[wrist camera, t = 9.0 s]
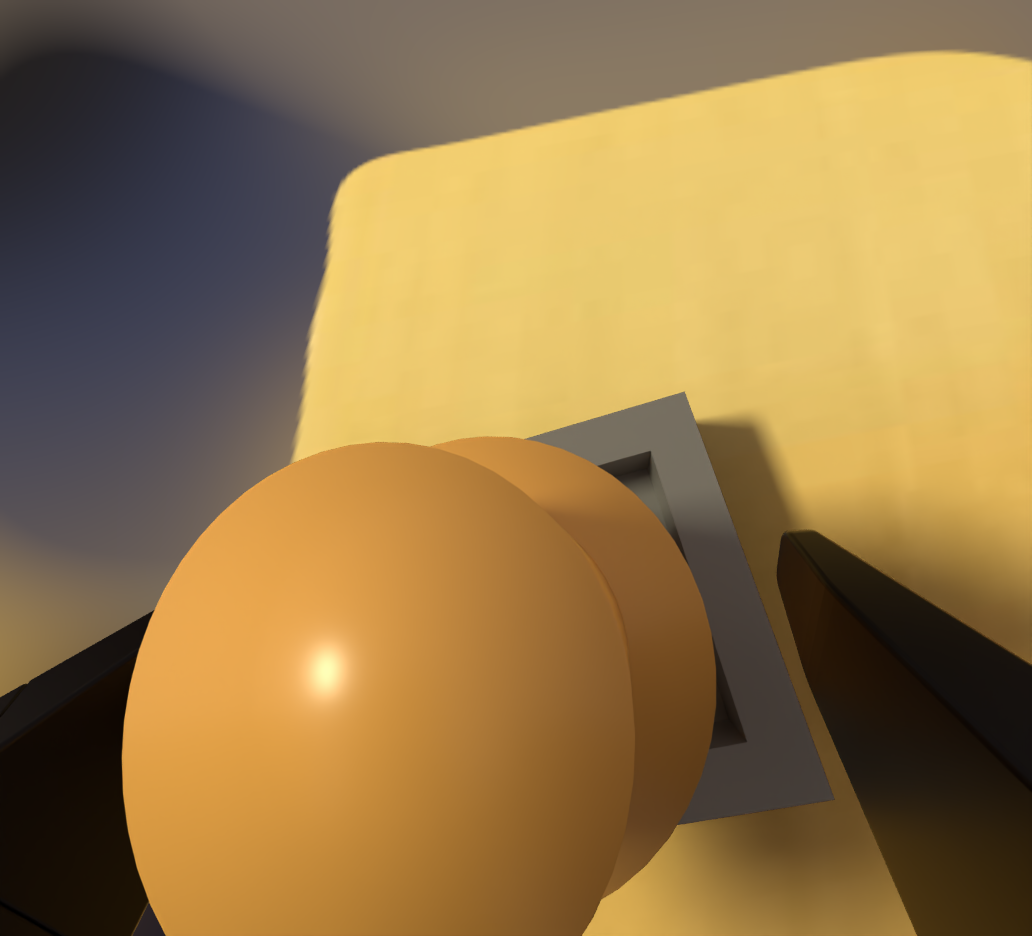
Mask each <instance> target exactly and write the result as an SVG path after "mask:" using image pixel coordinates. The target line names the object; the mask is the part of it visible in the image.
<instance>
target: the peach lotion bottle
mask: <svg viewBox="0 0 1032 936" xmlns="http://www.w3.org/2000/svg"><path fill="white" fill-rule="evenodd" d="M715 709H716V664H715V656H714V648H713V641H712V633H711V629H710V626H709V622H708V618H707V614H706V610H705V607H704V603H703V599H702V597H701V594H700V592H699V589H698V587H697V585H696V582H695V580H694V577H693V575H692V572H691V570H690V568H689V566H688V564H687V562H686V561H685V559H684V557H683V555H682V553H681V552H680V550H679V548H678V546H677V544H676V543H675V541H674V540H673V538H672V537H671V535H670V534H669V533H668V531H667V530H666V529H665V527H664V526H663V525H662V523H661V522H660V521H659V519H658V518H657V516H656V515H655V514H654V513H653V512H652V511H651V510H650V509H649V508H648V507H647V506H646V505H645V504H644V503H643V502H642V501H641V500H640V499H639V497H638V496H637V495H636V494H635V493H633V492H632V491H631V490H630V489H629V488H627V487H626V486H625V485H624V484H622V483H621V482H620V481H619V480H617V479H616V478H615V477H614V476H612V475H611V474H609V473H608V472H606V471H604V470H603V469H601V468H600V467H598V466H596V465H595V464H593V463H591V462H590V461H588V460H586V459H584V458H582V457H579V456H577V455H575V454H573V453H570V452H568V451H566V450H564V449H561V448H557V447H554V446H551V445H547V444H544V443H541V442H537V441H531V440H525V439H519V438H513V437H476V438H466V439H458V440H454V441H450V442H446V443H441V444H437V445H434V446H431V447H427V446H421V445H415V444H409V443H387V442H375V443H366V444H356V445H348V446H344V447H340V448H336V449H332V450H328V451H324V452H320V453H318V454H315V455H312V456H310V457H307V458H305V459H302V460H299V461H297V462H294V463H292V464H290V465H289V466H287V467H285V468H283V469H281V470H279V471H277V472H275V473H274V474H272V475H270V476H268V477H267V478H265V479H264V480H262V481H261V482H260V483H258V484H257V485H255V486H254V487H252V488H251V489H249V490H248V491H247V492H245V493H244V494H243V495H241V496H240V497H239V498H238V499H237V500H236V501H235V502H233V504H231V505H230V506H229V507H228V508H227V509H225V510H224V511H223V512H222V513H221V514H220V515H219V516H218V517H217V518H216V519H215V520H214V522H213V523H212V524H211V525H210V526H209V527H208V528H207V529H206V530H205V531H204V533H203V534H202V535H201V536H200V537H199V538H198V540H197V541H196V543H195V544H194V545H193V546H192V548H191V549H190V551H189V552H188V553H187V554H186V556H185V557H184V559H183V560H182V561H181V563H180V564H179V566H178V568H177V569H176V571H175V573H174V575H173V576H172V578H171V579H170V581H169V583H168V584H167V586H166V588H165V589H164V592H163V594H162V596H161V598H160V600H159V602H158V604H157V606H156V608H155V611H154V613H153V615H152V617H151V619H150V622H149V624H148V627H147V630H146V633H145V635H144V638H143V641H142V644H141V646H140V649H139V652H138V656H137V660H136V664H135V668H134V671H133V675H132V679H131V683H130V688H129V694H128V700H127V707H126V713H125V719H124V732H123V748H122V774H123V797H124V804H125V812H126V819H127V826H128V833H129V837H130V841H131V845H132V849H133V853H134V857H135V862H136V866H137V869H138V872H139V875H140V878H141V880H142V883H143V886H144V889H145V891H146V894H147V897H148V900H149V902H150V905H151V907H152V909H153V911H154V913H155V915H156V917H157V919H158V921H159V923H160V925H161V927H162V929H163V931H164V932H165V935H166V936H582V934H583V933H584V931H585V929H586V928H587V926H588V925H589V923H590V921H591V920H592V918H593V917H594V914H595V912H596V910H597V908H598V905H599V903H600V901H601V899H603V898H604V897H606V896H608V895H609V894H611V893H613V892H614V891H616V890H618V889H619V888H620V887H621V886H623V885H624V884H625V883H626V882H627V881H628V880H630V879H631V878H632V877H633V876H634V875H635V874H637V873H638V872H639V871H640V870H641V869H642V868H644V867H645V866H646V865H647V864H648V862H649V861H650V860H651V859H652V858H653V856H654V855H655V854H656V853H657V852H658V851H659V849H660V848H661V847H662V846H663V845H664V843H665V842H666V841H667V840H668V839H669V837H670V836H671V834H672V832H673V831H674V829H675V827H676V826H677V824H678V823H679V821H680V819H681V818H682V816H683V814H684V813H685V811H686V810H687V808H688V806H689V803H690V801H691V799H692V796H693V794H694V792H695V789H696V787H697V785H698V782H699V780H700V778H701V776H702V772H703V769H704V765H705V761H706V758H707V754H708V750H709V747H710V743H711V739H712V731H713V724H714V716H715Z"/></svg>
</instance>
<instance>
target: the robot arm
mask: <svg viewBox="0 0 1032 936" xmlns="http://www.w3.org/2000/svg"><path fill="white" fill-rule="evenodd" d="M777 582H778V586H779V590H780V593H781V596H782V600H783V603H784V606H785V610H786V613H787V616H788V620H789V623H790V626H791V630H792V633H793V636H794V640H795V643H796V646H797V650H798V653H799V656H800V660H801V663H802V666H803V669H804V672H805V675H806V678H807V681H808V683H809V686H810V688H811V691H812V693H813V696H814V698H815V700H816V703H817V705H818V707H819V710H820V712H821V714H822V716H823V719H824V721H825V723H826V726H827V728H828V730H829V733H830V735H831V737H832V740H833V742H834V744H835V747H836V749H837V751H838V754H839V756H840V758H841V760H842V763H843V765H844V767H845V770H846V772H847V774H848V777H849V779H850V781H851V784H852V786H853V788H854V791H855V793H856V795H857V798H858V800H859V802H860V805H861V807H862V809H863V811H864V814H865V816H866V818H867V821H868V823H869V825H870V828H871V830H872V832H873V835H874V837H875V839H876V842H877V844H878V846H879V849H880V851H881V853H882V855H883V858H884V860H885V862H886V865H887V867H888V869H889V872H890V874H891V876H892V879H893V881H894V883H895V886H896V888H897V890H898V893H899V895H900V897H901V899H902V902H903V904H904V906H905V909H906V911H907V913H908V916H909V918H910V920H911V923H912V925H913V927H914V930H915V932H916V934H917V936H1032V664H1030V663H1028V662H1027V661H1025V660H1024V659H1022V658H1020V657H1019V656H1017V655H1015V654H1014V653H1012V652H1011V651H1009V650H1007V649H1006V648H1004V647H1003V646H1001V645H999V644H998V643H996V642H994V641H993V640H991V639H990V638H988V637H986V636H985V635H983V634H982V633H980V632H978V631H977V630H975V629H973V628H972V627H970V626H969V625H967V624H965V623H964V622H962V621H961V620H959V619H957V618H956V617H954V616H952V615H951V614H949V613H948V612H946V611H944V610H943V609H941V608H940V607H938V606H936V605H935V604H933V603H931V602H930V601H928V600H927V599H925V598H923V597H922V596H920V595H918V594H917V593H915V592H914V591H912V590H910V589H909V588H907V587H906V586H904V585H902V584H901V583H899V582H897V581H896V580H894V579H893V578H891V577H889V576H888V575H886V574H885V573H883V572H881V571H880V570H878V569H876V568H875V567H873V566H872V565H870V564H868V563H867V562H865V561H864V560H862V559H860V558H859V557H857V556H855V555H854V554H852V553H851V552H849V551H847V550H846V549H844V548H843V547H841V546H839V545H838V544H836V543H834V542H833V541H831V540H830V539H828V538H826V537H825V536H823V535H822V534H820V533H818V532H816V531H814V530H791V531H786V532H785V533H783V535H782V537H781V543H780V550H779V557H778V565H777ZM154 611H155V610H153V611H152V612H150V613H148V614H146V615H145V616H143V617H141V618H140V619H138V620H136V621H134V622H132V623H131V624H129V625H127V626H125V627H124V628H122V629H120V630H118V631H116V632H115V633H113V634H111V635H109V636H108V637H106V638H104V639H102V640H101V641H99V642H97V643H95V644H94V645H92V646H90V647H88V648H87V649H85V650H83V651H81V652H79V653H78V654H76V655H74V656H72V657H71V658H69V659H67V660H65V661H64V662H62V663H60V664H58V665H57V666H55V667H53V668H51V669H50V670H48V671H46V672H44V673H43V674H41V675H39V676H37V677H36V678H34V679H32V680H31V681H30V682H29V683H28V684H23V685H21V686H19V687H18V688H16V689H14V690H12V691H11V692H9V693H7V694H5V695H4V696H2V697H0V936H132V935H133V933H134V931H135V929H136V926H137V925H138V922H139V920H140V919H141V917H142V915H143V913H144V911H145V909H146V906H147V905H148V903H149V900H148V897H147V894H146V891H145V889H144V886H143V883H142V880H141V878H140V875H139V872H138V869H137V866H136V862H135V857H134V853H133V849H132V845H131V841H130V837H129V833H128V826H127V819H126V812H125V804H124V797H123V774H122V748H123V732H124V719H125V713H126V707H127V700H128V694H129V688H130V683H131V679H132V675H133V671H134V668H135V664H136V660H137V656H138V652H139V649H140V646H141V644H142V641H143V638H144V635H145V633H146V630H147V627H148V624H149V622H150V619H151V617H152V615H153V613H154Z"/></svg>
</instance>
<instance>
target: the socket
mask: <svg viewBox="0 0 1032 936" xmlns="http://www.w3.org/2000/svg"><path fill="white" fill-rule="evenodd" d="M525 440H531V441H537V442H541V443H544V444H547V445H551V446H554V447H557V448H561V449H564V450H566V451H568V452H570V453H573V454H575V455H577V456H579V457H582V458H584V459H586V460H588V461H590V462H591V463H593V464H595V465H596V466H598V467H600V468H601V469H603V470H604V471H606V472H608V473H609V474H611V475H612V476H614V477H615V478H616V479H617V480H619V481H620V482H621V483H622V484H624V485H625V486H626V487H627V488H629V489H630V490H631V491H632V492H633V493H635V494H636V495H637V496H638V497H639V499H640V500H641V501H642V502H643V503H644V504H645V505H646V506H647V507H648V508H649V509H650V510H651V511H652V512H653V513H654V514H655V515H656V516H657V518H658V519H659V521H660V522H661V523H662V525H663V526H664V527H665V529H666V530H667V531H668V533H669V534H670V535H671V537H672V538H673V540H674V541H675V543H676V544H677V546H678V548H679V550H680V552H681V553H682V555H683V557H684V559H685V561H686V562H687V564H688V566H689V568H690V570H691V572H692V575H693V577H694V580H695V582H696V585H697V587H698V589H699V592H700V594H701V597H702V599H703V603H704V607H705V610H706V614H707V618H708V622H709V626H710V629H711V633H712V641H713V648H714V656H715V664H716V709H715V716H714V724H713V731H712V739H711V743H710V747H709V750H708V754H707V758H706V761H705V765H704V769H703V772H702V776H701V778H700V780H699V782H698V785H697V787H696V789H695V792H694V794H693V796H692V799H691V801H690V803H689V806H688V808H687V810H686V811H685V813H684V814H683V816H682V818H681V819H680V821H679V823H678V824H677V825H680V824H687V823H693V822H699V821H705V820H711V819H718V818H724V817H730V816H736V815H743V814H749V813H755V812H761V811H768V810H774V809H780V808H786V807H793V806H799V805H805V804H811V803H818V802H824V801H830V800H835V799H834V796H833V794H832V791H831V788H830V786H829V783H828V780H827V777H826V775H825V772H824V769H823V767H822V764H821V761H820V758H819V756H818V753H817V750H816V747H815V745H814V742H813V739H812V737H811V734H810V731H809V728H808V726H807V723H806V720H805V718H804V715H803V712H802V709H801V707H800V704H799V701H798V699H797V696H796V693H795V690H794V688H793V685H792V682H791V680H790V677H789V674H788V671H787V669H786V666H785V663H784V661H783V658H782V655H781V652H780V650H779V647H778V644H777V642H776V639H775V636H774V633H773V631H772V628H771V625H770V622H769V620H768V617H767V614H766V612H765V609H764V606H763V603H762V601H761V598H760V595H759V593H758V590H757V587H756V584H755V582H754V579H753V576H752V574H751V571H750V568H749V565H748V563H747V560H746V557H745V555H744V552H743V549H742V546H741V544H740V541H739V538H738V536H737V533H736V530H735V527H734V525H733V522H732V519H731V517H730V514H729V511H728V508H727V506H726V503H725V500H724V498H723V495H722V492H721V489H720V487H719V484H718V481H717V478H716V476H715V473H714V470H713V468H712V465H711V462H710V459H709V457H708V454H707V451H706V449H705V446H704V443H703V440H702V438H701V435H700V432H699V430H698V427H697V424H696V421H695V419H694V416H693V413H692V411H691V408H690V405H689V402H688V400H687V397H686V394H685V392H682V393H679V394H675V395H672V396H668V397H665V398H662V399H658V400H655V401H652V402H648V403H645V404H641V405H638V406H635V407H631V408H628V409H625V410H621V411H618V412H614V413H611V414H608V415H604V416H601V417H598V418H594V419H591V420H587V421H584V422H581V423H577V424H574V425H570V426H567V427H564V428H560V429H557V430H554V431H550V432H547V433H543V434H540V435H537V436H533V437H530V438H527V439H525Z"/></svg>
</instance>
